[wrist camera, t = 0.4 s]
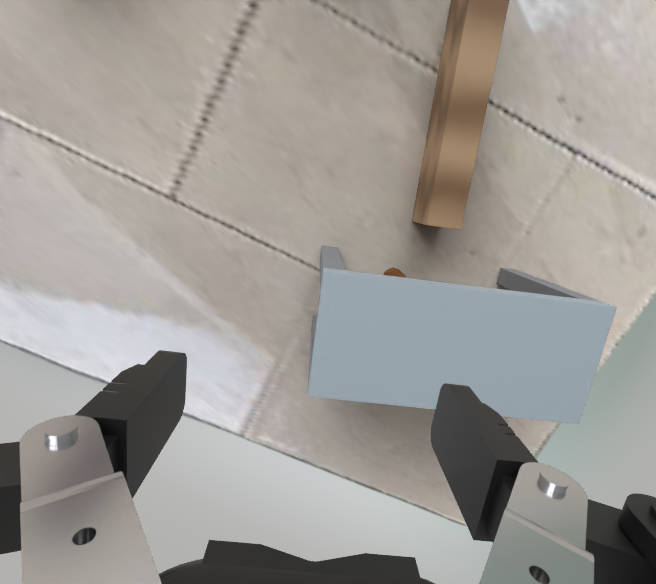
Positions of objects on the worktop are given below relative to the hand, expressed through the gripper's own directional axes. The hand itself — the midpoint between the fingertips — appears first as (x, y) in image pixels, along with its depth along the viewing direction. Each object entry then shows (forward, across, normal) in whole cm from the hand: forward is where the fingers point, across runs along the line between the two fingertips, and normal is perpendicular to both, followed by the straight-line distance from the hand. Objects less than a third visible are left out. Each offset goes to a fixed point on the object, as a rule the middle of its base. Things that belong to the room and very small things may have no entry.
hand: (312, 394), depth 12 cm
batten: (+27, -10, -14) cm, 32 cm away
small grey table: (+27, -10, +4) cm, 29 cm away
